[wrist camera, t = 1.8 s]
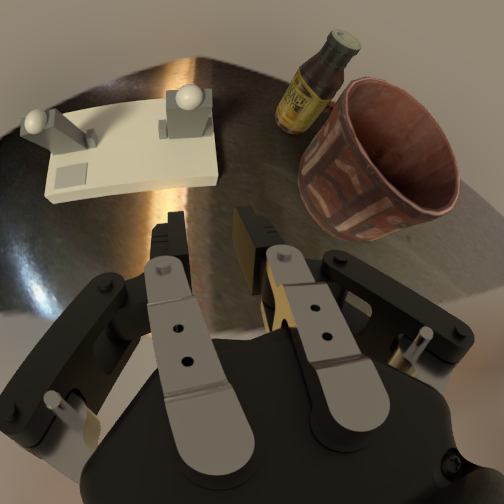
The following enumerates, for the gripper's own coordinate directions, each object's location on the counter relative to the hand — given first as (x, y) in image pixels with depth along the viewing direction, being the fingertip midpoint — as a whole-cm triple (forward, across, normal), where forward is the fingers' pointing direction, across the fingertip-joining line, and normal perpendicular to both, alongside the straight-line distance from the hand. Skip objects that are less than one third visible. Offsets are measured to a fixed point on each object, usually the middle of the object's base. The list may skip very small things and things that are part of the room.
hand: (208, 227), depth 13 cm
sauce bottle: (+33, -18, 0) cm, 38 cm away
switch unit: (+30, +8, +2) cm, 31 cm away
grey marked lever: (+28, +16, 0) cm, 32 cm away
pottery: (+24, -22, +9) cm, 34 cm away
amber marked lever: (+28, 0, 0) cm, 28 cm away
